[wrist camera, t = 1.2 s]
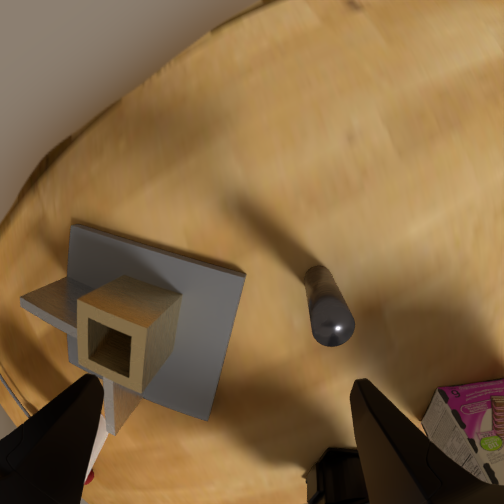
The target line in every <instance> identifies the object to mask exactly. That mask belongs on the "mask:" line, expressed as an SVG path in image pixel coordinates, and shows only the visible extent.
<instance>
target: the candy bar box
mask: <svg viewBox="0 0 504 504" xmlns="http://www.w3.org/2000/svg"><path fill="white" fill-rule="evenodd" d="M421 424H422V426H423V429H424V431H425V433H426V435H427V437H428V438H429V439H430V441H432V442H433V443H434V444H435V445H436V446H437V447H438V448H439V449H441V450H442V451H443V452H444V453H445V454H446V455H447V456H449V457H450V458H451V459H452V460H454V461H455V462H456V463H457V464H459V465H460V466H462V467H463V468H464V469H466V470H467V471H468V472H470V473H471V474H473V475H474V476H475V477H477V478H478V479H480V480H482V481H484V482H487V483H490V484H496V485H504V378H502V379H496V380H491V381H485V382H478V383H471V384H464V385H456V386H447V387H438V388H437V389H436V391H435V393H434V395H433V397H432V400H431V403H430V405H429V407H428V409H427V411H426V413H425V415H424V417H423V420H422V422H421Z"/></svg>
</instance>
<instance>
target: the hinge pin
mask: <svg viewBox="0 0 504 504" xmlns="http://www.w3.org/2000/svg"><path fill="white" fill-rule="evenodd" d="M304 282H305V288H306V295H307V301H308V307H309V314H310V321H311V327H312V333H313V336H314V338H315V339H316V341H317V342H319V343H320V344H322V345H324V346H328V347H334V346H339V345H341V344H343V343H345V342H346V341H347V340H349V338H350V337H351V336H352V334H353V332H354V329H355V321H354V318H353V316H352V314H351V312H350V310H349V308H348V306H347V304H346V302H345V300H344V298H343V296H342V294H341V292H340V290H339V288H338V286H337V284H336V282H335V280H334V278H333V276H332V274H331V272H330V271H329V270H328V269H327V268H325V267H323V266H314V267H312V268H310V269H309V270H308V271H307V273H306V274H305V278H304Z"/></svg>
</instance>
